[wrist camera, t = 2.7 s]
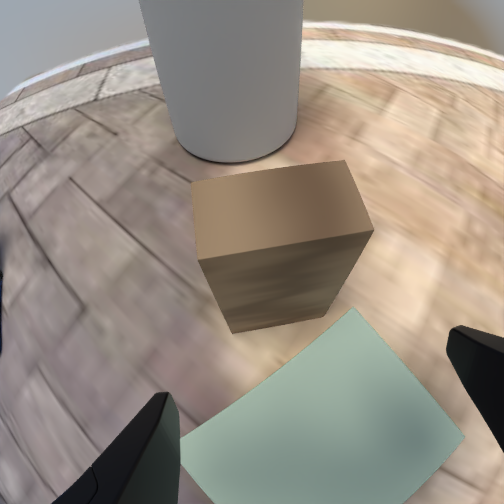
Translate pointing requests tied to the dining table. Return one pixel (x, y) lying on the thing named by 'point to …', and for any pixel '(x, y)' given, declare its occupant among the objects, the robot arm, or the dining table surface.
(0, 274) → the handheld game console
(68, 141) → the dining table surface
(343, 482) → the mat
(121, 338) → the dining table surface
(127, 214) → the dining table surface
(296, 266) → the walnut slab
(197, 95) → the cylinder vase
